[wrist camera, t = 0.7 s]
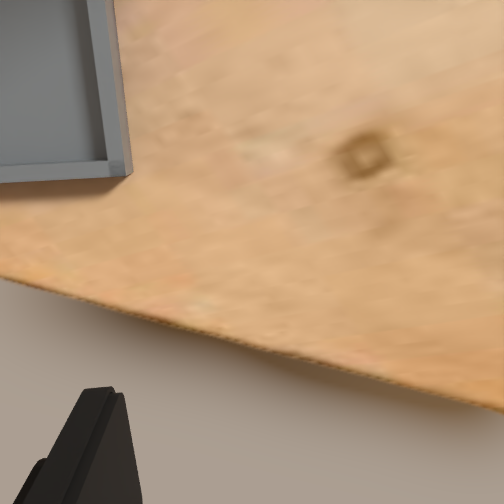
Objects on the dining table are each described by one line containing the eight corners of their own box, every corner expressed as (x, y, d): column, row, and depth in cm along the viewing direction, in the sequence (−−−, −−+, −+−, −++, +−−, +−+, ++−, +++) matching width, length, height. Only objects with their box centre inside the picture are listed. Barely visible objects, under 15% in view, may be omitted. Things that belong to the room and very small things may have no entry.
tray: (-101, -79, 33) (-131, -97, 30) (102, -88, 33) (91, -105, 31) (-44, 181, 38) (-64, 186, 35) (133, 171, 38) (126, 176, 36)
